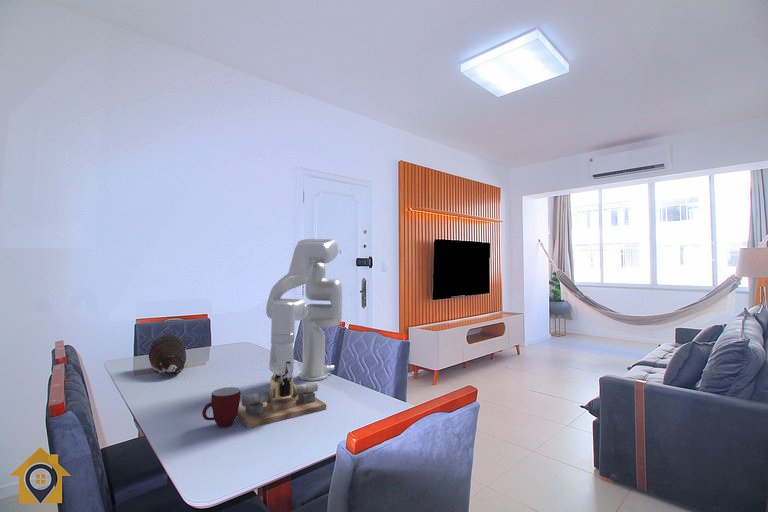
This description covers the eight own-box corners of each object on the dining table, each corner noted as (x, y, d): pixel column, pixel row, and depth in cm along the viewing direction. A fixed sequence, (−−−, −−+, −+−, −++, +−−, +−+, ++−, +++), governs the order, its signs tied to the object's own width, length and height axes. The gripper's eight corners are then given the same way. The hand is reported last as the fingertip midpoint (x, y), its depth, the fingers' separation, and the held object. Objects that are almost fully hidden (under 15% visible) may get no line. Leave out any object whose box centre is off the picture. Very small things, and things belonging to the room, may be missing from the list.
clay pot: (154, 354, 151) (151, 333, 171) (147, 390, 152) (144, 365, 172) (194, 354, 160) (186, 334, 180) (187, 388, 161) (180, 364, 181)
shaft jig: (308, 397, 137) (308, 375, 138) (326, 409, 126) (326, 385, 126) (234, 413, 122) (235, 388, 122) (247, 428, 111) (248, 400, 111)
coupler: (275, 398, 120) (275, 382, 120) (269, 394, 124) (270, 378, 124) (293, 394, 124) (293, 379, 124) (287, 390, 128) (287, 376, 128)
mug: (209, 436, 105) (210, 400, 105) (197, 427, 111) (198, 393, 111) (244, 424, 113) (245, 391, 113) (232, 417, 118) (232, 385, 119)
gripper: (262, 335, 129) (261, 388, 129) (281, 344, 116) (280, 403, 115) (283, 333, 134) (282, 385, 133) (304, 341, 120) (303, 398, 120)
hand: (281, 393), depth 124 cm, fingers closed on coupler, 5 cm apart
